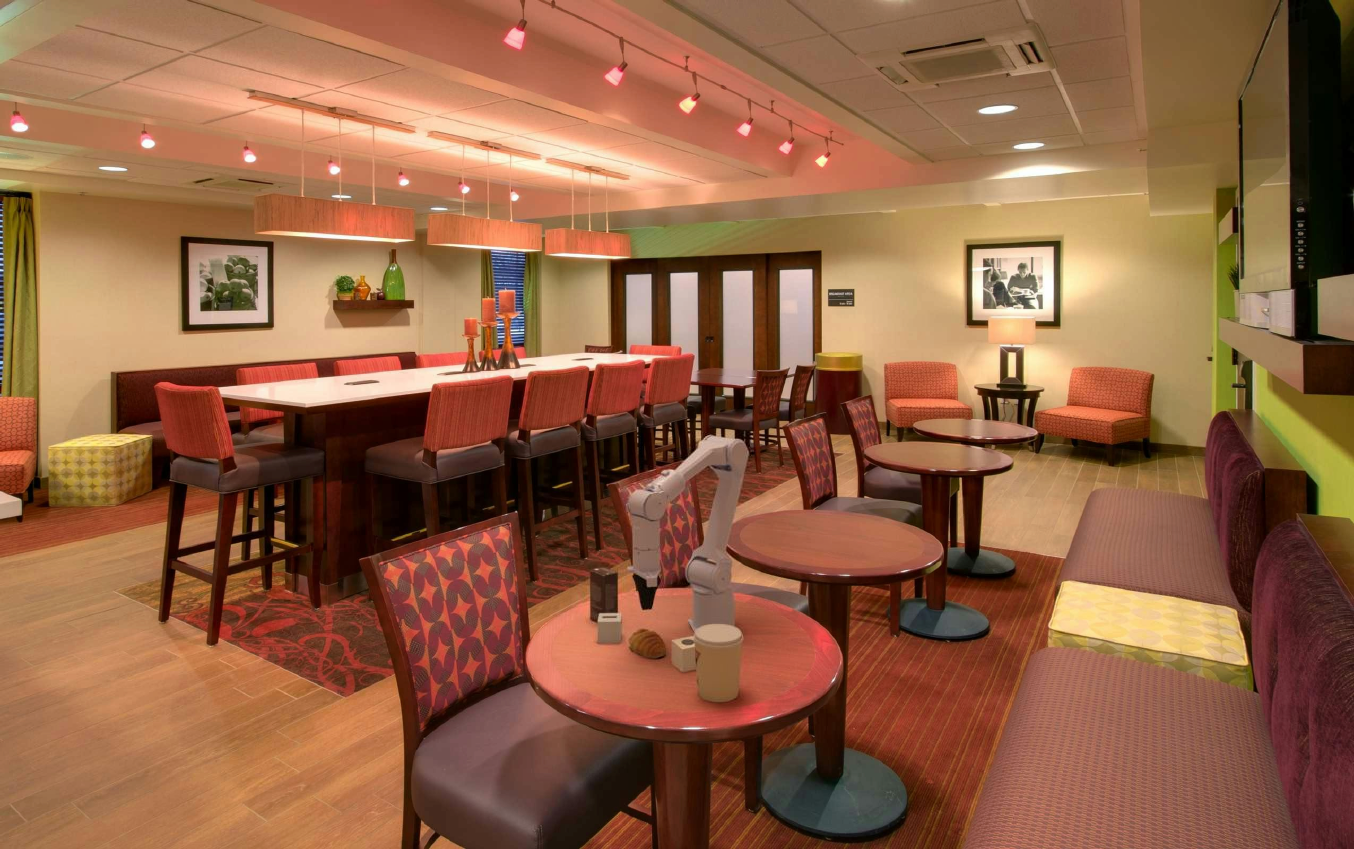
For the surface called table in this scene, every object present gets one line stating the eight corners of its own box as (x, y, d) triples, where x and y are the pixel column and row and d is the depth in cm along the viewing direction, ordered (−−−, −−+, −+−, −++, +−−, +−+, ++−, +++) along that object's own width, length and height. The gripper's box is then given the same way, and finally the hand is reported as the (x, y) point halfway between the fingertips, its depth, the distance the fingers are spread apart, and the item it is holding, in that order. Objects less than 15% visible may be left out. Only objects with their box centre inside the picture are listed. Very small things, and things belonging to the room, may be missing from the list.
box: (619, 621, 187) (618, 572, 186) (603, 626, 185) (602, 576, 183) (604, 614, 192) (604, 565, 190) (589, 618, 189) (588, 569, 188)
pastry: (674, 656, 169) (674, 638, 168) (647, 663, 165) (647, 646, 165) (651, 641, 177) (651, 624, 176) (625, 648, 173) (624, 631, 173)
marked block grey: (621, 634, 180) (621, 612, 180) (620, 643, 175) (620, 620, 175) (599, 634, 180) (599, 612, 179) (597, 643, 175) (597, 621, 174)
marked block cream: (692, 658, 167) (692, 635, 167) (704, 667, 163) (704, 643, 162) (671, 663, 165) (671, 639, 164) (682, 672, 161) (682, 648, 160)
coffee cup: (703, 678, 158) (703, 620, 156) (748, 686, 154) (749, 627, 153) (686, 699, 149) (686, 637, 148) (733, 708, 146) (734, 645, 144)
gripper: (622, 538, 174) (623, 598, 176) (632, 558, 160) (633, 622, 162) (654, 536, 176) (654, 596, 178) (667, 555, 162) (667, 620, 164)
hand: (646, 608), depth 170 cm, fingers closed
